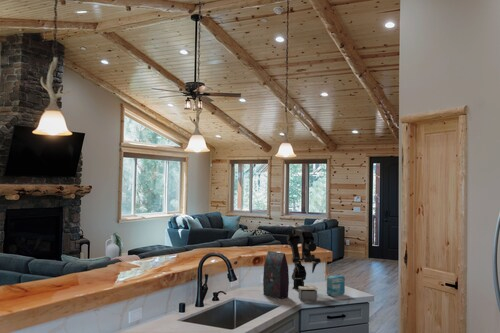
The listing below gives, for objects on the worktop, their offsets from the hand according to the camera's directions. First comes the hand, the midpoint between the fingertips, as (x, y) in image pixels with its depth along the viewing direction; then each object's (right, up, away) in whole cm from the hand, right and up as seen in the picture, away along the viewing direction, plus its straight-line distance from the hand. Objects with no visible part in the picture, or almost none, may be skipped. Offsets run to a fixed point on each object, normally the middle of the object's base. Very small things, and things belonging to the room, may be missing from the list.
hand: (305, 273), depth 298 cm
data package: (+19, -13, -5) cm, 24 cm away
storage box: (-1, -12, -19) cm, 22 cm away
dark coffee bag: (-21, -12, -10) cm, 26 cm away
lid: (-1, -5, -19) cm, 19 cm away
